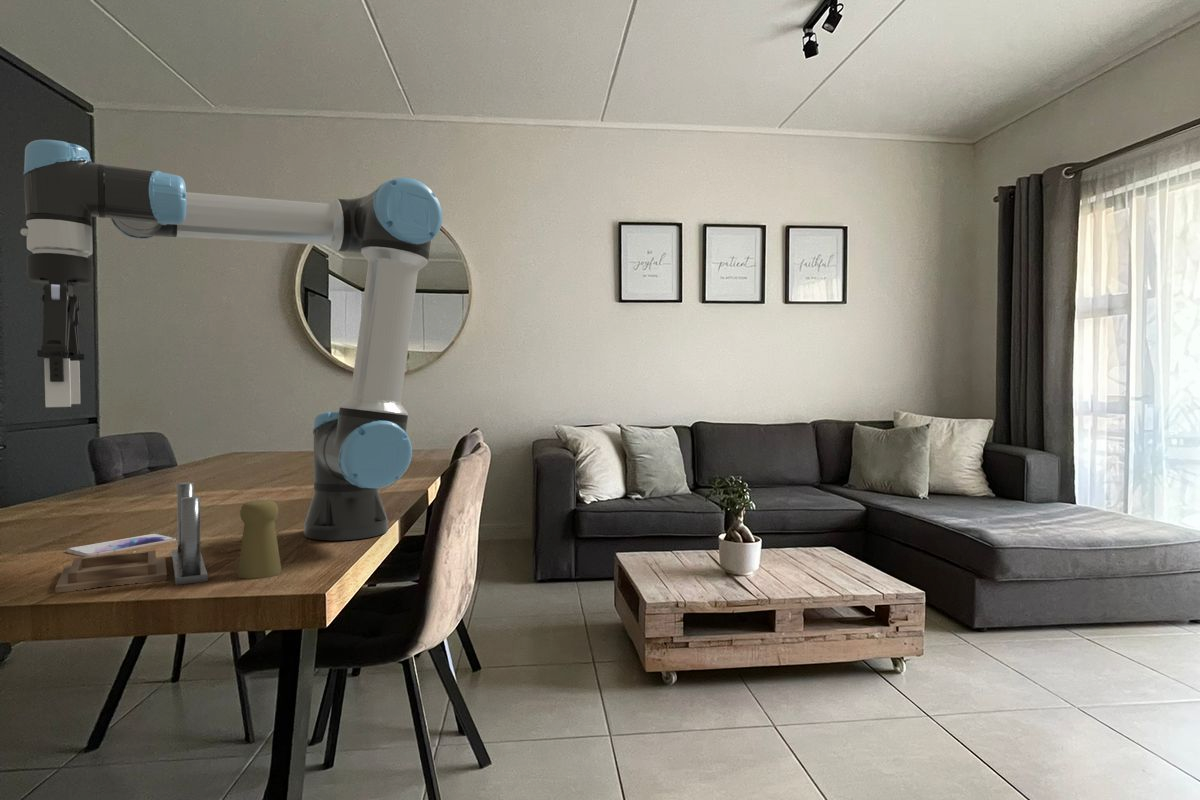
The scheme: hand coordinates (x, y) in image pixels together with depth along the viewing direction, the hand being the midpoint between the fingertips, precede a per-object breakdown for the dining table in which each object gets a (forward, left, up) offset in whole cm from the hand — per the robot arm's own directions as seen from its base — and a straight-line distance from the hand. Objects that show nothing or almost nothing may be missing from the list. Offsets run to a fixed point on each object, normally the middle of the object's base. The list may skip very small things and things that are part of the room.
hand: (64, 405), depth 105 cm
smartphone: (-6, -23, -26) cm, 36 cm away
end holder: (-6, 0, -25) cm, 26 cm away
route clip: (-15, 0, -25) cm, 30 cm away
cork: (-24, +9, -25) cm, 36 cm away
